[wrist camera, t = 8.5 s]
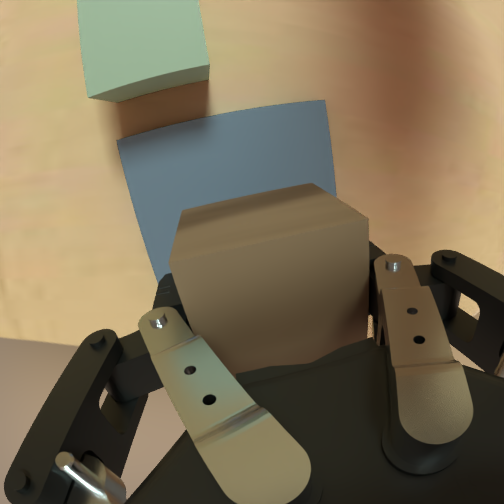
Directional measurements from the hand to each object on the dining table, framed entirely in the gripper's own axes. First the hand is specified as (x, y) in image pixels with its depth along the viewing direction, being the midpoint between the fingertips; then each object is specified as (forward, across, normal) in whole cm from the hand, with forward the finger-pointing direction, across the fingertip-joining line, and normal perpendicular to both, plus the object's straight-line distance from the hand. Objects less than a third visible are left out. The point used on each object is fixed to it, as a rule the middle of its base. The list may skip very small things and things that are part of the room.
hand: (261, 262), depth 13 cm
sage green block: (+7, +3, -11) cm, 14 cm away
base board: (+7, 0, 0) cm, 7 cm away
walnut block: (+1, 0, 0) cm, 1 cm away
